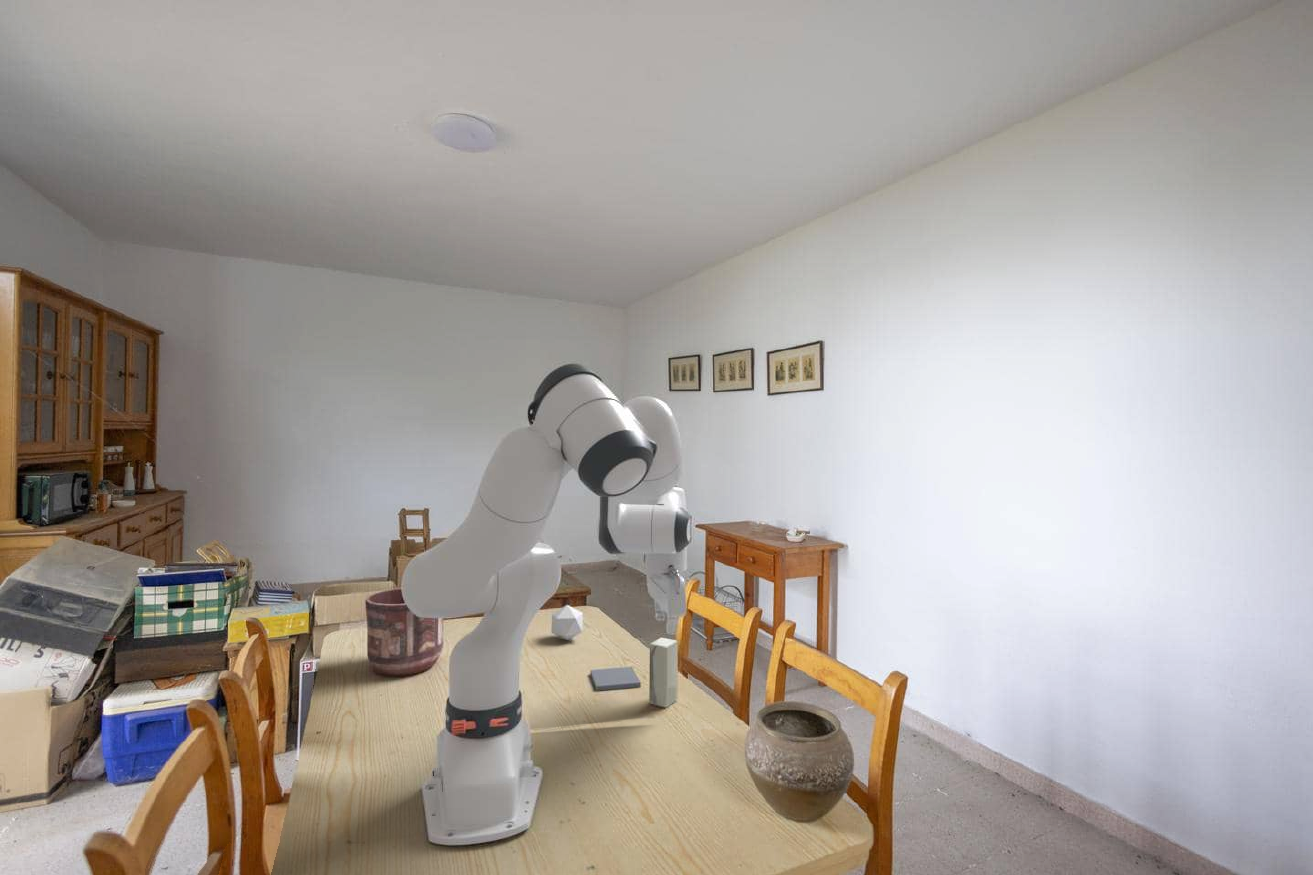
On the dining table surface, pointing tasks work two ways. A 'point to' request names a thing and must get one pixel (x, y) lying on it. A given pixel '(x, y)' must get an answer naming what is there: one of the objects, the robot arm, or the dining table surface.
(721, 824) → the dining table surface
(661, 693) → the box
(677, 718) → the dining table surface
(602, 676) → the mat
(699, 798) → the dining table surface
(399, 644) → the pottery
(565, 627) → the die
